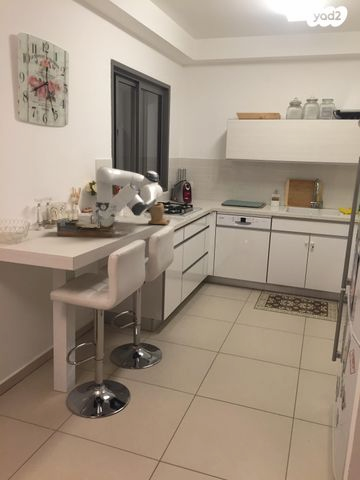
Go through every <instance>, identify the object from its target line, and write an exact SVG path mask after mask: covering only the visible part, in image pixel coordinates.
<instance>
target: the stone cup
mask: <svg viewBox="0 0 360 480" xmlns="http://www.w3.org/2000/svg"><path fill="white" fill-rule="evenodd" d="M148 210H149V215H150V218H151V219H150V220H149V221H148V222H147V223H148V224H151V225H165V226H166V225H169V224H170V223H171V219H165V218H164V213H165V205H164V204H163V203H161V202H159V203H154V205H153V206H152V207H150V208H149V209H148Z"/></svg>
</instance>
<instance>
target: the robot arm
mask: <svg viewBox="0 0 360 480" xmlns="http://www.w3.org/2000/svg"><path fill="white" fill-rule="evenodd" d="M95 174H96V176H95V177H96V202H95V208H94V210H93V221H94V222H96V212H95V211H96V210H97V209H98V208H100V214H102V217H101V218H100V219H99V222H102V221H103V220H104V219H105V220H106V219H108V218H109V217H110V216H111V215H112V214H114V215H115V217H114V223H118V219H117V217H116V213H120V212H122V210H124V208H125V207H127V208H128V209H129V210H130V212H131V213H132V214H133V215H134V216H136V217H139V216H142V215H143V214H144V213H145V212H147V211H148V210H149V208H150V207H152V206H153V205H154V204H156V202H157V200H158V198H160V197H161V196H162V195H163V187H161V185H160V184H159V181H160V175H159V174H158V172H155V171H154V170H147V171H146V172H144V175H142V174H141V173H137V172H133V171H128V170H122V169H117V168H110V167H108V166H104V165H103V166H100V167H98V168H97V171H96V173H95ZM113 185H114V186H120V187H122V188H121V189H120V190H119V191H118V193H117V194H116V195H114V196H113Z"/></svg>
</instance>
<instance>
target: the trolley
mask: <svg viewBox="0 0 360 480" xmlns="http://www.w3.org/2000/svg"><path fill="white" fill-rule="evenodd" d="M95 212H96V222H94V221H93V219H94V213H81V212H80V213H79V214H78V217H77V218H78V221H76V222H77V223H76V226H78V229H80V227H94V229H95V230H96V229H97V227H98V228H100V222H99V219H100V208H98V209H97V210H96V211H95Z"/></svg>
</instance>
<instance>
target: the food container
mask: <svg viewBox="0 0 360 480" xmlns="http://www.w3.org/2000/svg"><path fill="white" fill-rule="evenodd" d="M115 215H116V214H115ZM115 215H114V214H112V215H111V216H110V217H109V218H108V219H106V220H105V219H104V220H103V221H102V222H100V225H99V228H114V223H115V222H114V217H115ZM101 217H102V214H100V218H101ZM115 218H116V217H115Z"/></svg>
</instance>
